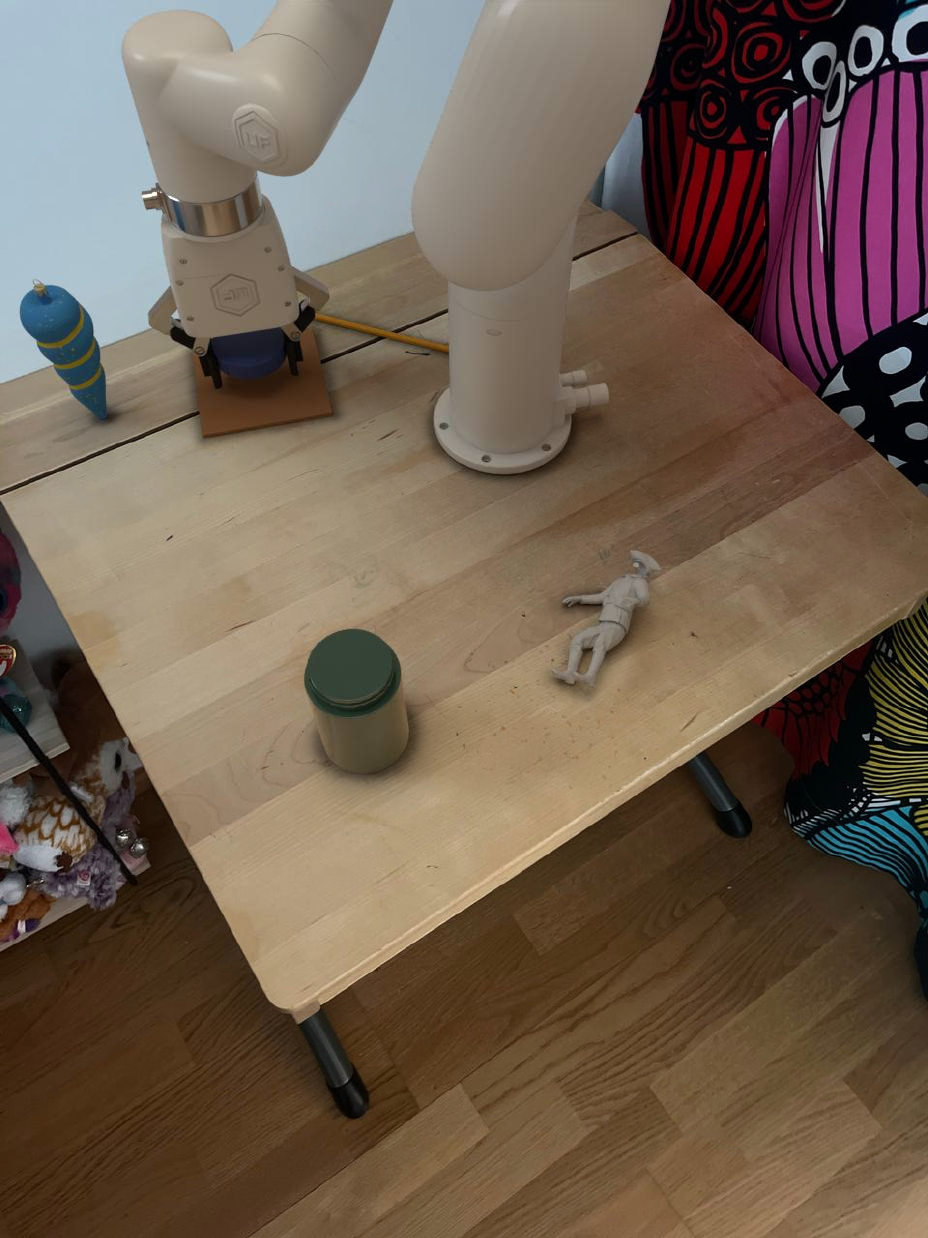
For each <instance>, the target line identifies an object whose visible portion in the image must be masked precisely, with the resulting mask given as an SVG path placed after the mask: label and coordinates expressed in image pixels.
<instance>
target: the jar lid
mask: <svg viewBox="0 0 928 1238" xmlns="http://www.w3.org/2000/svg"><path fill="white" fill-rule="evenodd" d="M211 345H212V346H213V352H214V356H215V360H216V363H217V366H218V367H219V369H220V370H221V371H222V372H224V373H225V374H227V375H228V376H231V377H234V378H238V379H257V378H261V377H265V376H267V375H269V374H271V373H273V372H275V371H276V370H277V369H279V368H280V367H281V365H282V364H283V363H284V361H285V359H286V356H287V352H286V347H285V342H284V337H283V332H282V329H281V328H280V327H276V328H271V329H264V330H258V331H252V332H246V333H239V334H233V335H226V336H219V337H212V341H211Z"/></svg>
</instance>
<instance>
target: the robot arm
mask: <svg viewBox="0 0 928 1238" xmlns="http://www.w3.org/2000/svg"><path fill="white" fill-rule="evenodd" d="M671 2H672V1H671V0H485V1H484V4H483V7H482V8H481V12H480V14H479V16H478V19H477V21H476V24H475V26H474V29H473V31H472V34H471V36H470V39H469V41H468V43H467V46H466V49H465V51H464V53H463V57H462V60H461V62H460V64H459V67H458V69H457V72H456V75H455V78H454V79H453V83H452V85H451V89H450V91H449V92H448V96H447V98H446V100H445V103H444V106H443V108H442V111H441V114H440V116H439V118H438V121H437V124H436V126H435V129H434V132H433V134H432V137H431V139H430V142H429V145H428V147H427V150H426V153H425V155H424V158H423V160H422V163H421V165H420V167H419V170H418V172H417V175H416V178H415V180H414V184H413V187H412V192H411V199H410V219H411V223H412V229H413V233H414V236H415V239H416V242H417V244H418V246H419V249H420V250H421V253H422V254H423V256H424V258H425V259H426V261H427V262H428V263H429V265H430V267H432V268H433V270H435V271H436V272H437V273H438V274H439V275H440V276H441V277H442V278H443V279H445V280H446V282H447V320H448V321H447V322H448V324H447V326H448V327H447V328H448V346H449V353H448V365H449V367H448V368H449V386H447V387H446V388H445V390H444V391H443V392H442V393H441V394H440V396H439V397H438V400H437V401H436V404H435V406H434V412H433V429H434V433H435V438H436V439H437V441H438V443H439V445H440V446H441V448H442V449H443V451H445V452H446V453H447V455H448V456H450V457H451V458H453V460H455V461H456V462H458V463H460V464H462V465H464V466H465V467H467V468H470V469H471V470H475V471H479V472H483V473H488V474H492V475H493V474H494V475H512V474H521V473H525V472H529V471H532V470H534V469H537V468H540V467H541V466H543V465H546V464H548V463H549V462H550V461H552V460H553V459H555V458H556V456H557V455H559V453H560V452H562V450H563V449H564V447H565V445H567V442H568V440H569V437H570V434H571V429H572V428H571V427H572V415H573V414H575V413H576V411H577V409H581V408H585V407H587V408H594V407H600V406H605V405H608V404H609V401H610V393H609V387H608V385H607V384H606V383H605V382H600V383H597V384H595V383H594V384H590V385H587V381H588V380H587V379H588V378H587V377H588V376H587V373H586V370H585V369H580V370H579V369H578V370H572V371H569V372H565V373H561V372H560V371H561V362H562V354H563V343H564V337H565V326H566V317H567V308H568V307H567V306H568V300H569V299H568V297H569V290H570V284H571V278H572V277H571V276H572V267H573V258H574V251H575V244H576V243H575V241H576V234H577V226H578V220H579V215H580V209H581V206H582V205H583V203H584V202H585V200H586V199H587V197H588V195H589V193H590V192H591V190H592V188H593V187H594V185H595V183H596V182H597V180H598V178H599V177H600V175H601V173H602V171H603V169H604V168H605V167H606V165H607V162H608V161H609V160H610V157H611V156H612V154H613V152H614V151H615V149H616V148H617V146H618V144H619V142H620V140H621V139H622V137H623V135H624V134H625V131H626V130H627V128H628V126H629V124H630V122H631V120H632V118H633V116H634V114H635V112H636V111H637V108H638V106H639V104H640V101H641V99H642V97H643V95H644V93H645V91H646V90H645V89H646V88H647V85H648V82H649V80H650V77H651V74H652V72H653V68H654V64H655V61H656V57H657V53H658V50H659V47H660V43H661V38H662V35H663V31H664V28H665V24H666V20H667V16H668V12H669V9H670V4H671ZM393 3H394V0H276V1H275V4H274V6H273V9H272V11H271V12H270V14H269V15H268V16H267V17H266V19H264V20H263V22H262V23H261V25H260V26H259V28H258V29H257V31H256V32H255V33H254V34H253V35H252V37H251V38H250V40H249V41H248V42H247V43H245V44H244V45H242V46H241V47H239V48H237V49H235V50H234V48H233V44H232V41H231V39H230V35H229V34H228V32H227V31H226V29H225V27H223V25H221V23H219V21H217V20H216V19H215V18H213V17H211V16H209V15H207V14H205V13H202V12H199V11H195V10H186V9H171V10H163V11H159V12H155V13H151V14H148V15H146V16H144V17H142V18H140V19H138V20H136V21H135V22H133V24H132V25H131V26H130V27H129V28H128V29H127V30H126V32H125V34H124V36H123V39H122V43H121V51H120V52H121V59H122V63H123V68H124V72H125V75H126V79H127V82H128V85H129V89H130V92H131V95H132V98H133V102H134V106H135V109H136V112H137V115H138V119H139V122H140V126H141V129H142V133H143V136H144V139H145V144H146V146H147V150H148V154H149V157H150V161H151V163H152V167H153V170H154V174H155V177H156V180H157V182H155V184H154V185H155V187H151V188H150V190H142V191H141V196H142V197H141V198H142V201H143V205H144V207H145V210H146V211H149V210H156V211H161V213H162V214H161V219H160V221H161V223H160V235H161V244H162V245H161V246H162V250H163V257H164V262H165V268H166V272H167V275H168V280H169V284H170V285H169V286H168V287H167V288H166V290H165V291H164V292H163V294H162V295H160V296H159V298H158V300H157V301H156V302H155V303H154V304H153V305H152V307H151V308H150V309H149V310H148V312H147V320H148V321H147V322H148V325H149V327H151V328H153V329H154V330H156V331H158V332H160V333H162V334H163V335H165V336H169V337H170V338H171V340H172V341H174V342H175V343H178V344H180V345H182V346H183V347H185V348H187V349H189V350H191V351H192V350H193V353H194V355H196V356H198V357H199V360H200V363H201V367H202V370H203V373H204V376H205V377H209V376H212V380H213V383H214V386H215V389H219V388H221V387H222V386H223V384H222V378H221V371H220V369H219V367H218V366H217V363H216V360H215V356H214V352H213V346H212V345H211V341H212V337H219V336H226V335H233V334H239V333H246V332H252V331H258V330H264V329H271V328H276V327H280V328H281V329H282V332H283V337H284V342H285V347H286V352H287V357H288V362H289V367H290V371H291V375H294V376H299V373H298V368H297V363H296V362H301V361H304V360H303V354H302V349H301V344H300V340H301V338H302V332H303V331H304V330H307V328H308V327H309V326H310V325H311V324H312V323H313V321H315V317H316V314H318V312H320V311H321V310H322V308H323V307H324V306H325V305H326V304H327V302H328V301H329V300H330V292H329V289H328V286H327V285H326V284H324V283H323V282H321V281H319V280H317V279H316V278H314V277H313V276H310V275H309V274H307V273H305V272H304V271H302V270H300V269H298V268H297V267H295V266H293V265H292V262H291V258H290V254H289V250H288V245H287V243H286V239H285V235H284V233H283V230H282V226H281V223H280V221H279V219H278V216H277V213H276V210H275V209H274V207H273V205H272V202H271V201H270V199H269V198H268V197H267V196H266V195H264V194H263V193H262V189H261V185H260V184H261V183H260V179H259V174H258V172H261V173H263V174H266V175H270V176H275V177H294V176H297V175H300V174H302V173H305V172H306V171H307V170H309V169H310V168H311V167H313V165H314V164H315V163H316V161H317V160H318V159H319V157H320V156H321V154H323V151H324V150H325V148H326V146H327V144H328V142H329V141H330V139H331V137H332V135H333V134H334V132H335V131H336V128H337V127H338V124H339V122H340V121H341V119H342V117H343V115H344V113H345V112H346V110H347V108H348V107H349V106H350V104H351V102H352V100H353V99H354V97H355V95H356V94H357V92H358V91H359V89H360V87H361V85H362V83H363V81H364V79H365V76H366V74H367V72H368V70H369V67H370V65H371V62H372V60H373V57H374V54H375V52H376V50H377V49H376V48H377V46H378V44H379V41H380V39H381V36H382V33H383V31H384V27H385V24H386V22H387V19H388V17H389V14H390V11H391V9H392V6H393ZM298 292H299V293H301V294H302V295H304V296H305V298H304V299H302V300H300V302H299V297H298ZM176 311H177V314H178V317H179V318H174V317H173V315H174V313H175V312H176ZM584 385H585V386H584ZM579 386H584V387H579ZM574 387H579V388H575V389H574Z"/></svg>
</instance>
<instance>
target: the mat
mask: <svg viewBox="0 0 928 1238" xmlns="http://www.w3.org/2000/svg"><path fill="white" fill-rule="evenodd" d="M315 336H316V335H315V332H314V329H313V328H308V329H307V328H306V329H305V330H304V331H303V332H302V338H301V340H300V344H301V349H302V354H303V360H304V361H301V362H296V363H297V368H298V373H299V376H294V375H291V371H290V367H289V362H288V357H287V356H286V359H285V361H284V363H283V364H282V365H281V367H280V368H279V369H277V370H276V371H275V372H273V373H271V374H269V375H267V376H265V377H261V378H257V379H238V378H234V377H231V376H228V375H227V374H225V373H224V372H222V371H221V370H220V371H221V378H222V384H223V386H222V387H221V388H219V389H215V386H214V383H213V380H212V376H209V377H205V376H204V373H203V370H202V367H201V363H200V360H199V357H198V356H196V355H194V353H193V350H191V355H192V362H193V363H192V364H193V371H194V379H195V386H196V394H197V402H198V403H197V404H198V411H199V419H200V428H201V434H202V435H201V436H202V438H203V439H207V438H212V437H217V436H224V435H229V434H234V433H235V434H236V433H240V432H246V431H251V430H257V429H262V428H268V427H269V428H270V427H274V426H280V425H286V424H290V423H291V424H292V423H297V422H302V421H309V420H314V419H319V418H320V419H321V418H325V417H331V416H333V409H332V405H331V401H330V396H329V392H328V387H327V383H326V380H325V379H326V378H325V373H324V371H323V366H322V362H321V357H320V354H319V348H318V345H317V340H316V337H315Z"/></svg>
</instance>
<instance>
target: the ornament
mask: <svg viewBox="0 0 928 1238" xmlns="http://www.w3.org/2000/svg"><path fill="white" fill-rule="evenodd" d="M34 281H36V282H38V283H36V284H35V282H34ZM32 284H33V285H34V286H33V287H32V289H31V290H29V291H28V292H27V293H26V294H25V295H24V296H23V297H22V299H21V302H20V305H19V318H20V322H21V325H22V327H23V328H24V330H25V332H27V333H28V335H29V336H30V337H32V338H33V339H34V340H35V341H36V346H37V348H38V350H39V352H40V353H41V354H42V355H43V356H44V357H45V358H46V359H47V360H48V361H50V362H51V363H52V364H53V368H54V370H55V372H56V374H57V375H58V377H59V378H60V379H62V380H63V382H65V383H66V384H67V385H68V388H69V391H70V393H71V394H72V396H73V397H74V398H75V399H76V400H77V401H78V402H79V403H80V404H81V405H83V406H84V407H85V408H86V409H87V410H88V411H90V412H91V413H92V414H94V415H95V417H97V418H98V419H100V420H105V419H106V418H107V417H108V407H107V406H108V405H107V378H106V377H107V376H106V372H105V368H104V366H103V365H102V362H101V348H100V345H99V342H98V340H97V338H96V336H95V335H94V333H95V329H94V323H93V320H92V316H91V315H90V314H89V312H88V311H87V309H86V308H85V307H84V306H83V305H82V304H81V303H80V302H79V301H78V300H77V298H76V297H75V296H73V295H72V294H71V293H70V292H69V291H68V290H67V289H65V288H63V287H62V286H59V285H54V284H44V283H42V281H40V280H39V279H36V278H35V279H33V281H32Z"/></svg>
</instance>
